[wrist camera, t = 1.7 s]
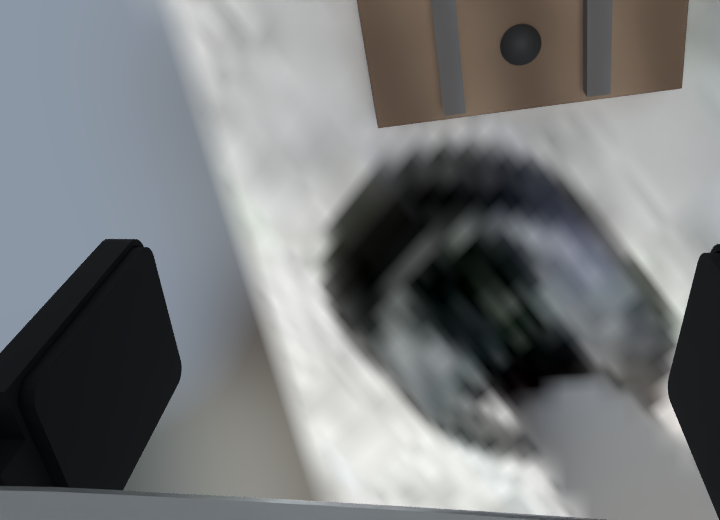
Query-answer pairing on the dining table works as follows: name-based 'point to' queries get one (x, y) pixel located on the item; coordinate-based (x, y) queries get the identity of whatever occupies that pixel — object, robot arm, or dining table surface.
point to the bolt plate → (516, 54)
